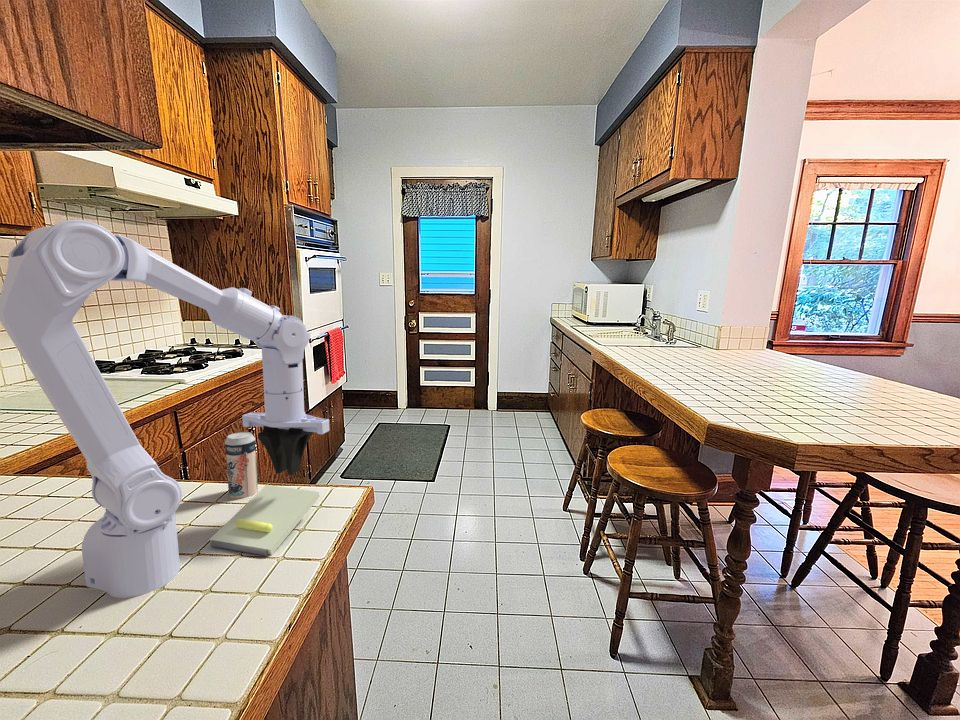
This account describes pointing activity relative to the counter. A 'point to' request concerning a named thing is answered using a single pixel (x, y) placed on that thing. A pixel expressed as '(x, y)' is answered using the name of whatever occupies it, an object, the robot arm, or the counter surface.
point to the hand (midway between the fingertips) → (287, 471)
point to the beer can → (241, 465)
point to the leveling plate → (265, 520)
